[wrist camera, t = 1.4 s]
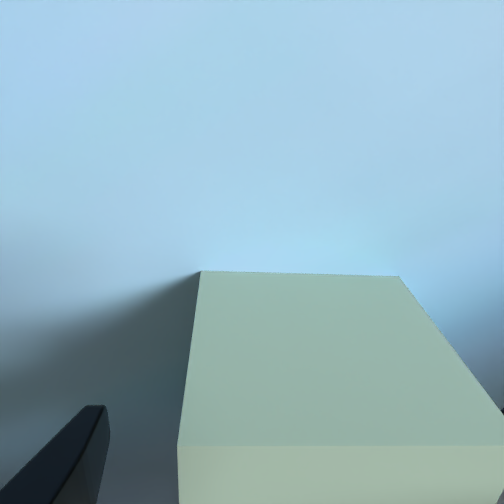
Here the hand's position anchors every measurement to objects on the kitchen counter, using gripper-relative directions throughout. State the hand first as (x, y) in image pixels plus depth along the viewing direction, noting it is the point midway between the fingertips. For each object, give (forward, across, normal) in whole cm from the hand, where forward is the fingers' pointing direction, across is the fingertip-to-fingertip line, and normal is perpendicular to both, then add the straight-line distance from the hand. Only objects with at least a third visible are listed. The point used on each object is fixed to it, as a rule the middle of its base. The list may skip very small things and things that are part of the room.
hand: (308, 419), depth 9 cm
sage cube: (+2, 0, 0) cm, 2 cm away
